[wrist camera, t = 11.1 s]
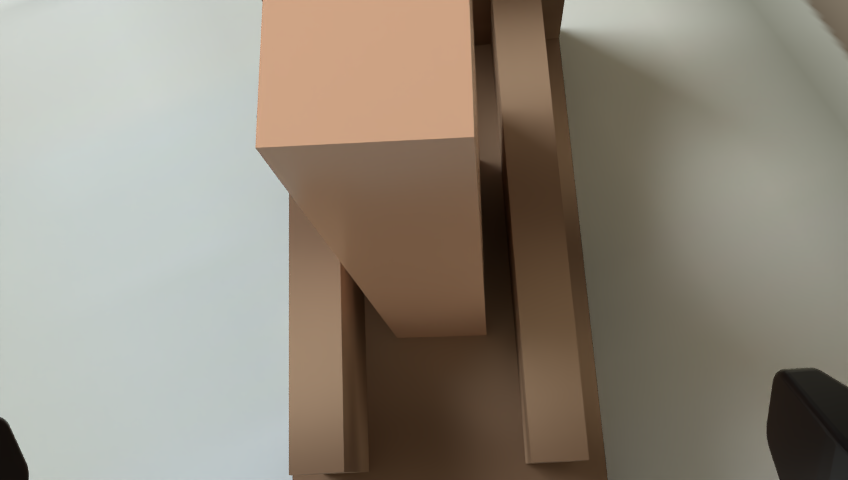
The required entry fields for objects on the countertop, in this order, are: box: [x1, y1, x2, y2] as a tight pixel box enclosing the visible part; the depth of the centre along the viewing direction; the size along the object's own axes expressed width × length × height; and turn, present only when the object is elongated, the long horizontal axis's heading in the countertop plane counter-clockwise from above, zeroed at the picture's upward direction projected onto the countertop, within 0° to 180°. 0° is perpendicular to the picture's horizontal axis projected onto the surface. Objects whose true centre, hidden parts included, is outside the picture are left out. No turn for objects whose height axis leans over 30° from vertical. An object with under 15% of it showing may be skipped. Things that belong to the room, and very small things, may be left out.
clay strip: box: [256, 0, 487, 338], centre depth 15 cm, size 5×2×13 cm, turn 1°
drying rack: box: [262, 0, 608, 480], centre depth 19 cm, size 14×8×8 cm, turn 3°
